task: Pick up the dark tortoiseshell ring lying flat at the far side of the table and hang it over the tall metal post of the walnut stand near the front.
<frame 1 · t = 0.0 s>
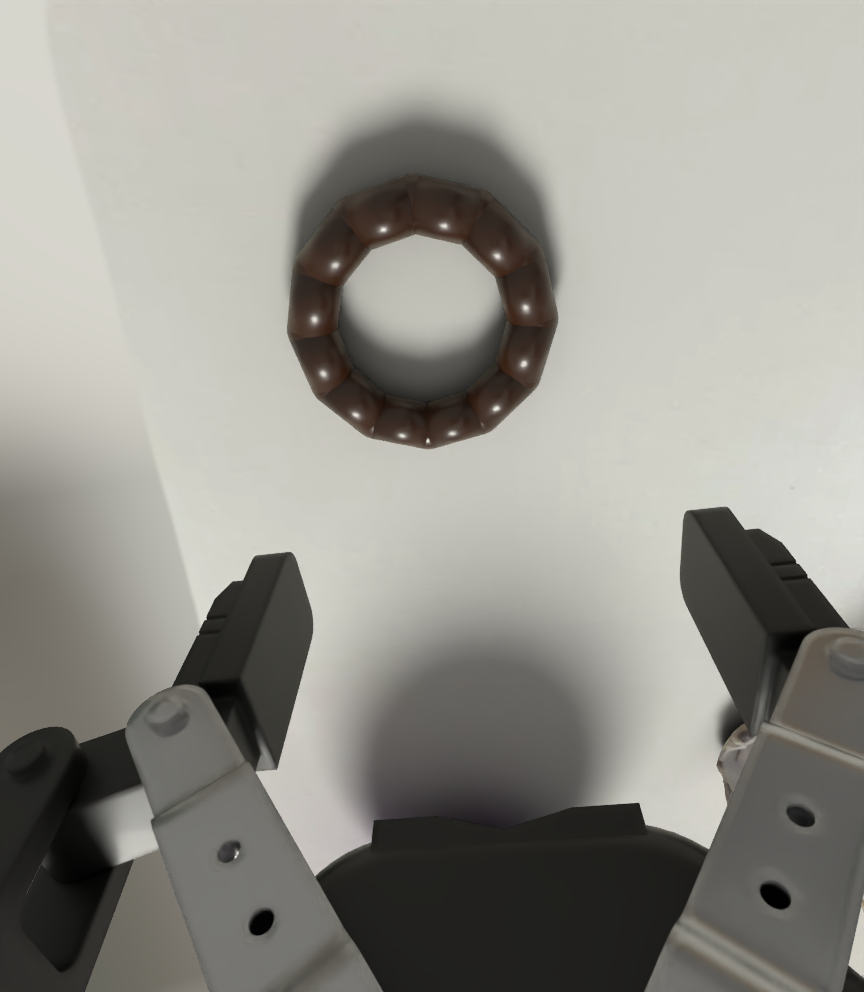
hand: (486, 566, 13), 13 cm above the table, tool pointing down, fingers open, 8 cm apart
seashell: (836, 758, 36), on the table
ring: (421, 324, 23), point 1 cm above the table
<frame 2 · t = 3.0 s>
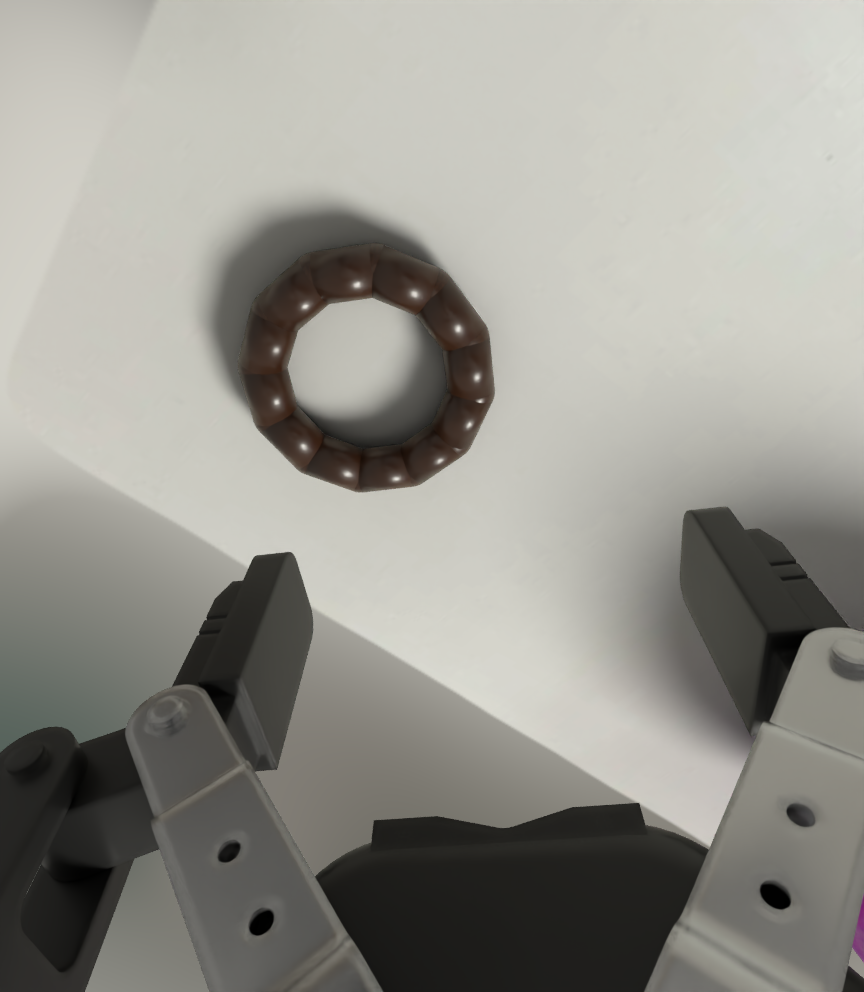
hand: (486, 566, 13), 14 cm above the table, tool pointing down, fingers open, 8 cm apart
ring: (367, 378, 24), point 1 cm above the table
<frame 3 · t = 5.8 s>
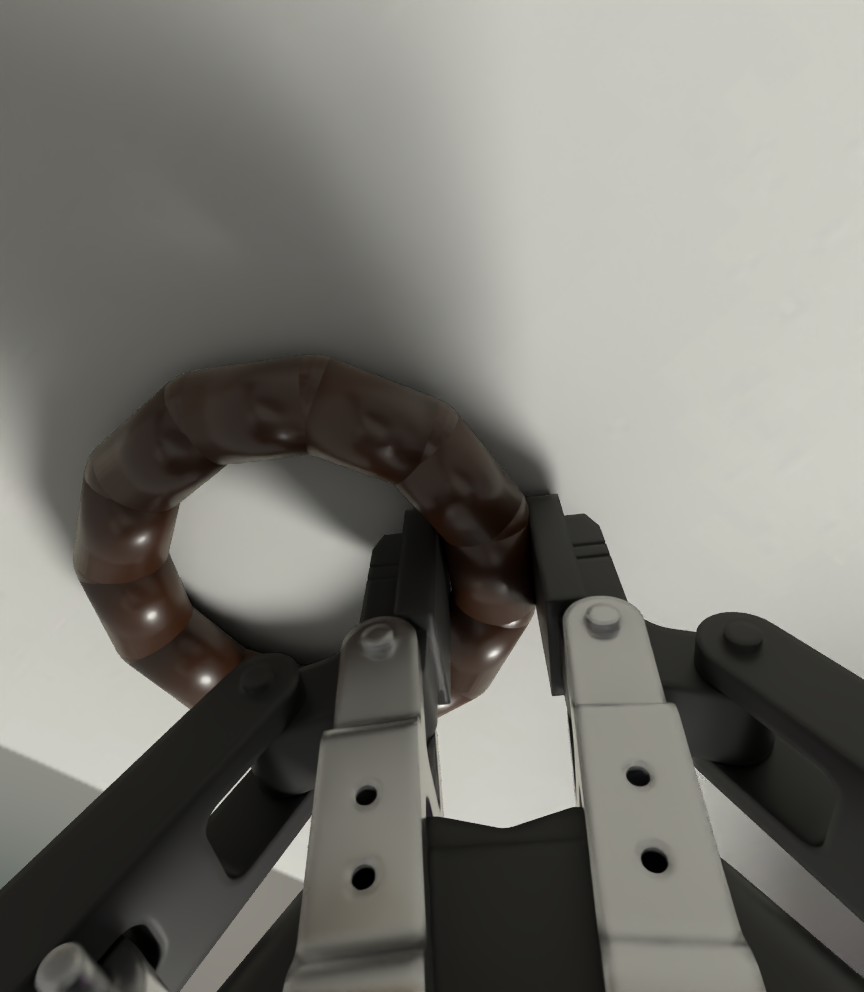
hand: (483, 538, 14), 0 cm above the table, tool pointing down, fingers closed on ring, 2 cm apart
ring: (310, 577, 14), point 1 cm above the table, touching gripper
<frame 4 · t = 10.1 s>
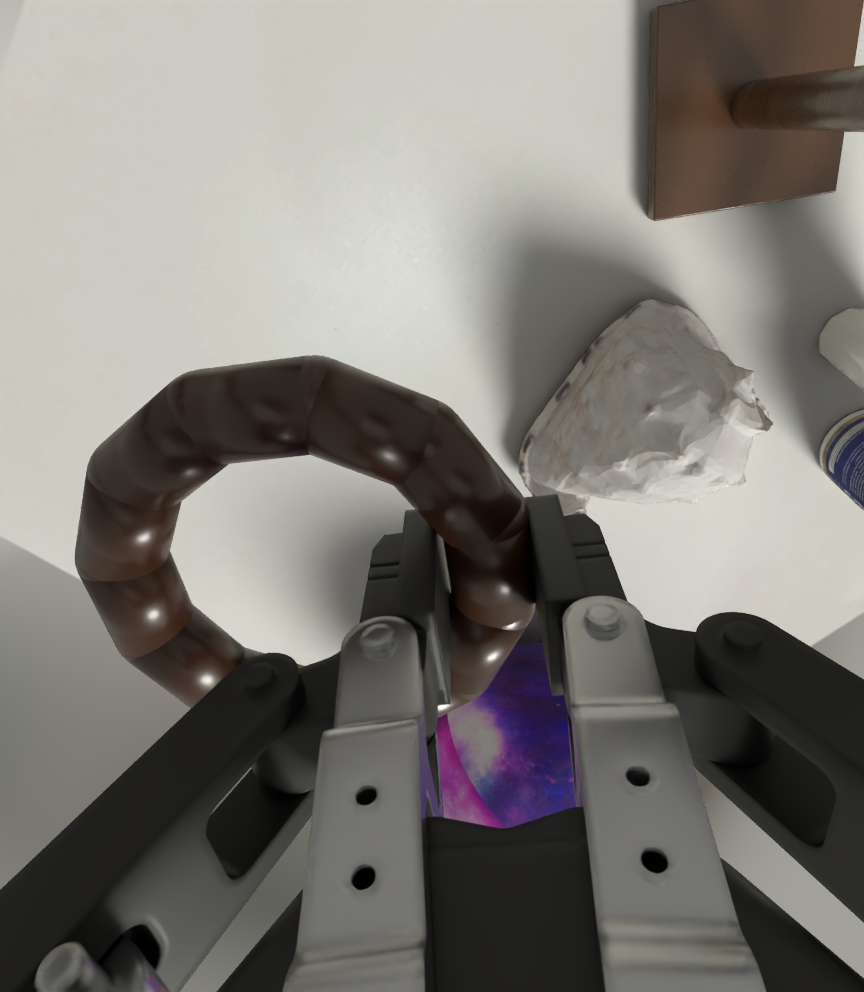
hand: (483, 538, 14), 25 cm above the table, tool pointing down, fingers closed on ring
stand: (742, 105, 31), on the table
milkshake: (844, 341, 37), on the table
pill bottle: (859, 443, 41), on the table
seashell: (635, 416, 40), on the table
decorative orb: (520, 670, 51), on the table
ring: (310, 577, 14), point 26 cm above the table, touching gripper
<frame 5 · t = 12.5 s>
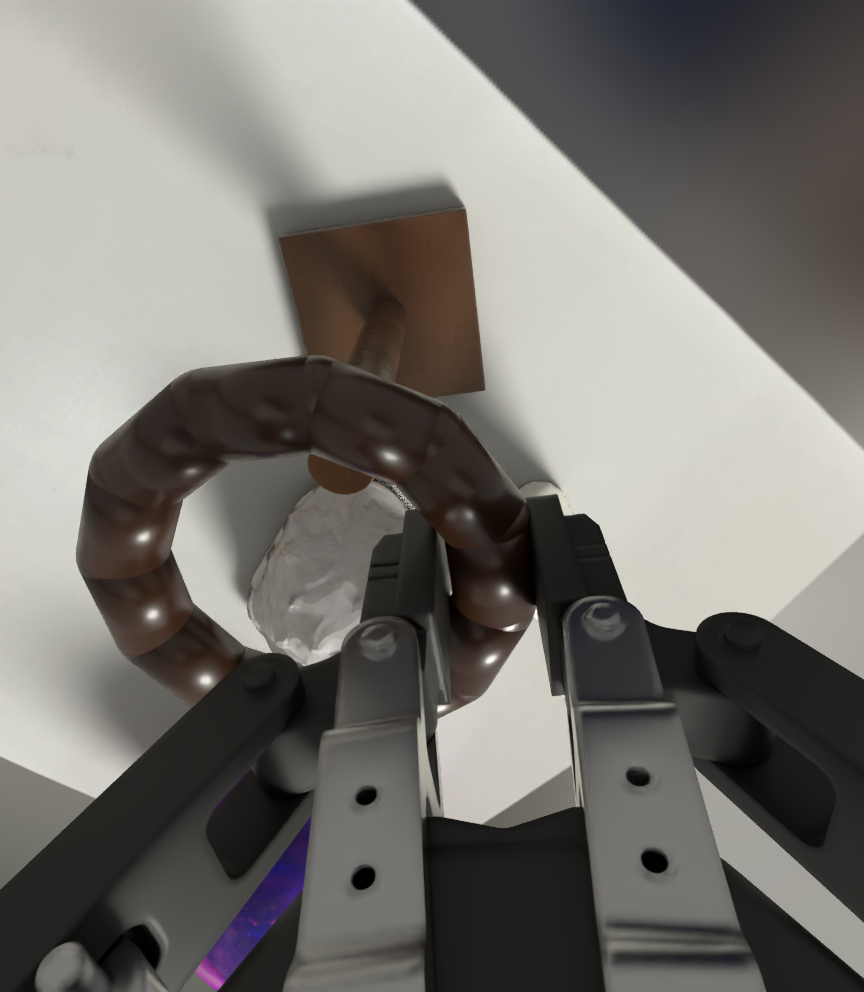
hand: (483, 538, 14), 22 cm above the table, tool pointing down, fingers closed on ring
stand: (389, 312, 33), on the table
milkshake: (538, 507, 39), on the table
seashell: (357, 566, 42), on the table
decorative orb: (302, 779, 53), on the table
ring: (310, 577, 14), point 22 cm above the table, touching gripper
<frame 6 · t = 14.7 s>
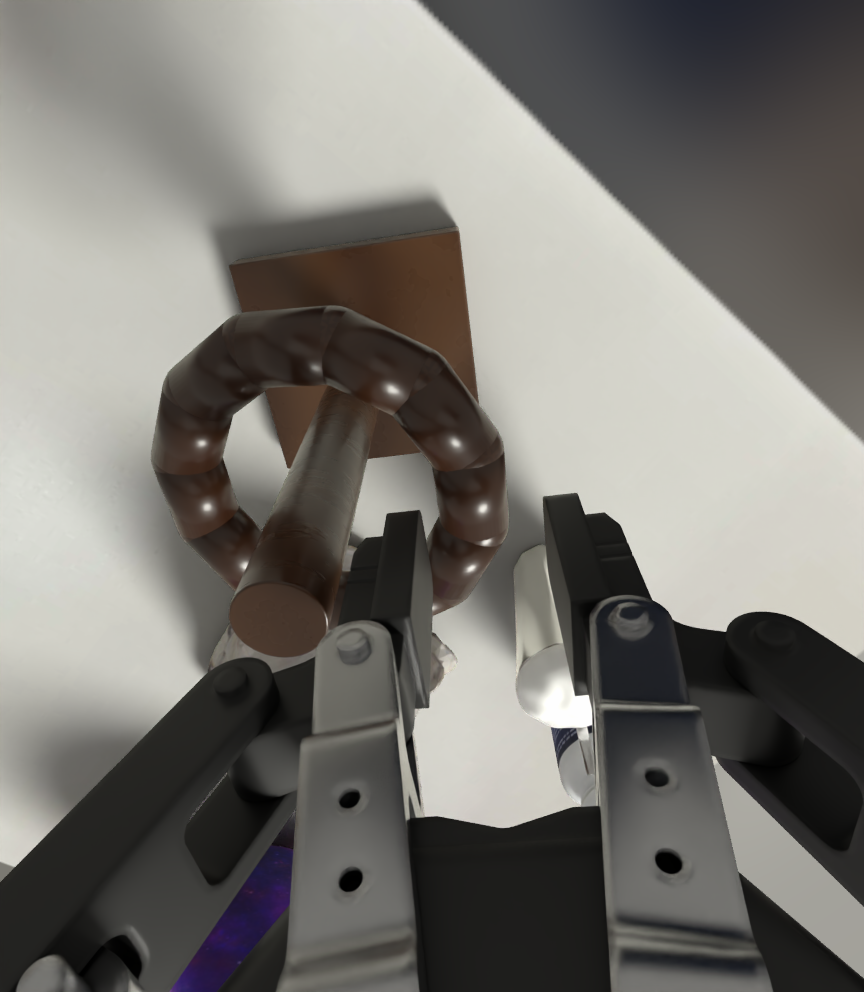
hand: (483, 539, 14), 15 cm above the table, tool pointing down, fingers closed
stand: (367, 352, 27), on the table
milkshake: (545, 572, 34), on the table
pill bottle: (586, 665, 37), on the table
seashell: (335, 637, 36), on the table
decorative orb: (278, 859, 47), on the table
ring: (327, 489, 17), point 12 cm above the table, tilted 10°
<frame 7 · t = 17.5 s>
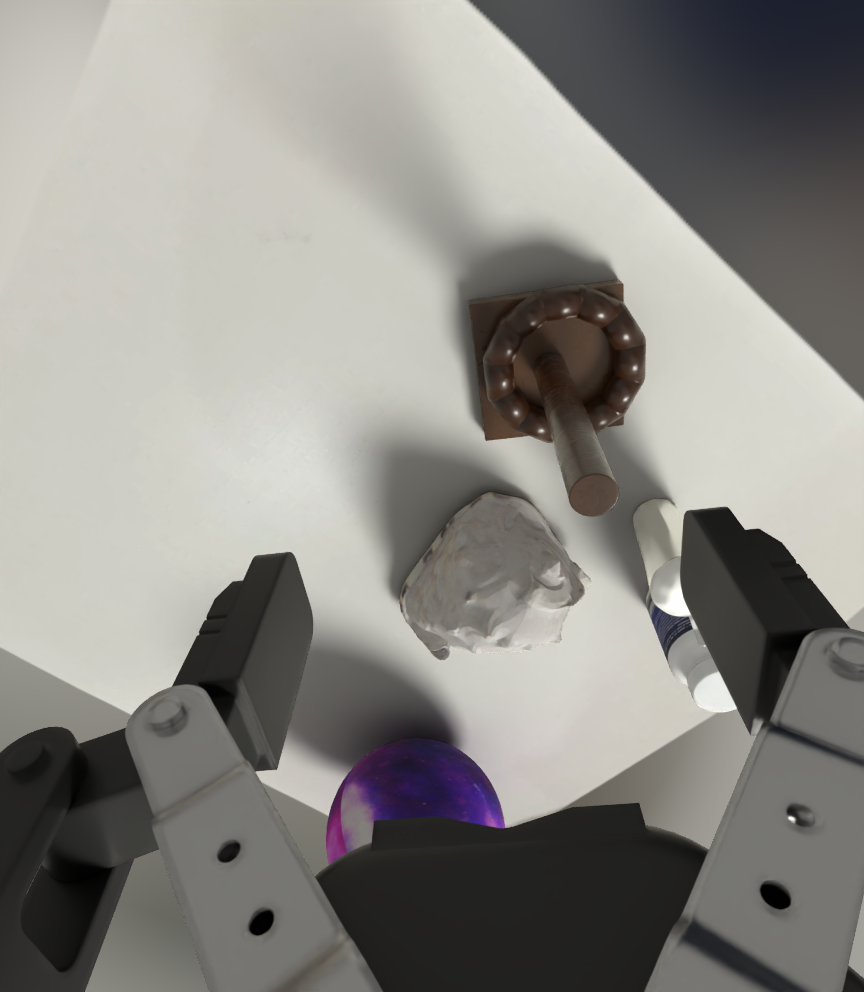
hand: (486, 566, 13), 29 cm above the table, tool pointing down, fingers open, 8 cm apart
stand: (547, 361, 41), on the table
milkshake: (655, 520, 46), on the table
pill bottle: (679, 593, 50), on the table
seashell: (494, 569, 49), on the table
decorative orb: (421, 755, 60), on the table
ring: (563, 368, 39), point 2 cm above the table, touching stand
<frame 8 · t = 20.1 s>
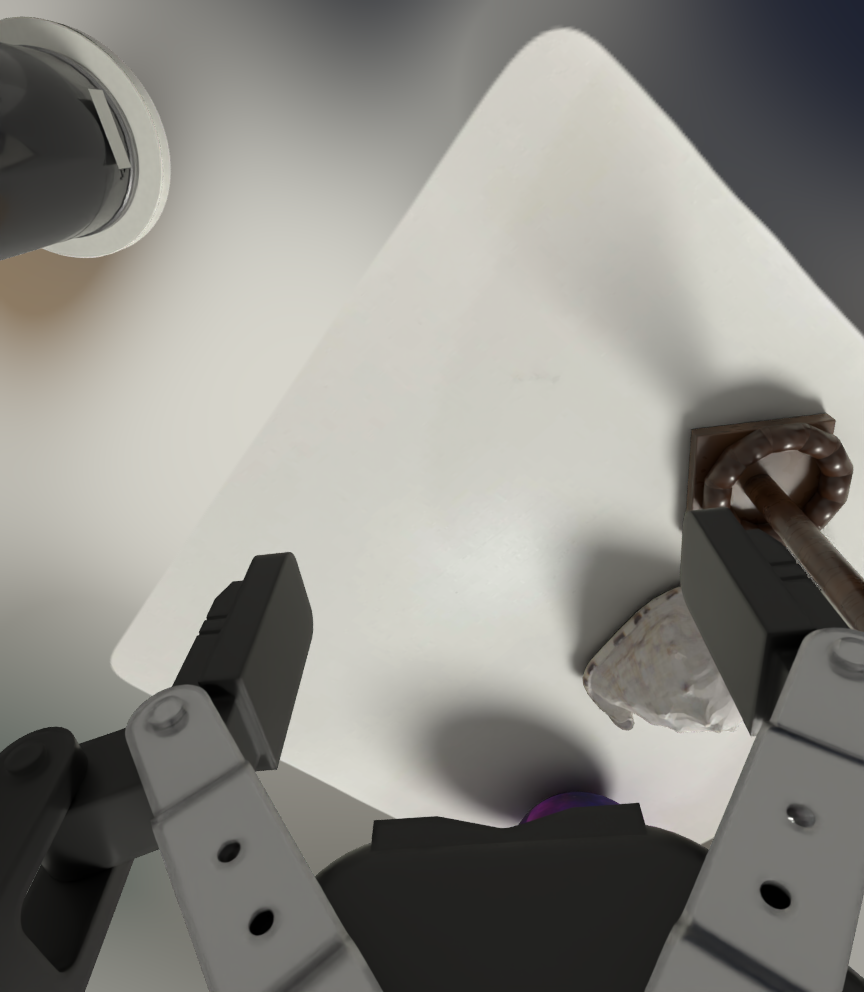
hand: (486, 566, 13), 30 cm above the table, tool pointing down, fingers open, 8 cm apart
stand: (751, 478, 46), on the table
seashell: (669, 646, 54), on the table
decorative orb: (571, 804, 66), on the table
ring: (775, 489, 44), point 2 cm above the table, touching stand
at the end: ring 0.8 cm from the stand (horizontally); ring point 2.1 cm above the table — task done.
